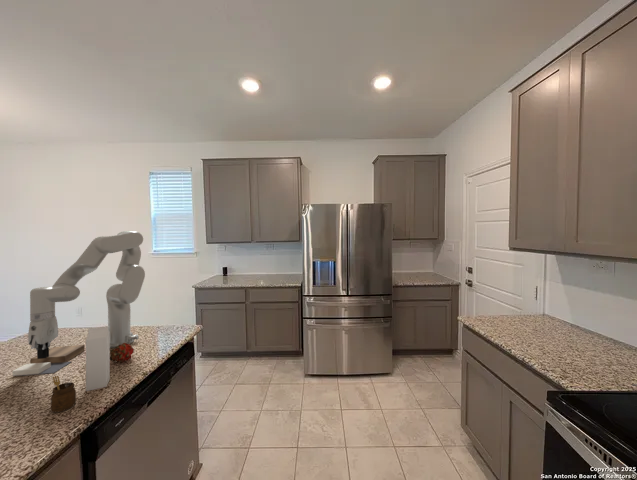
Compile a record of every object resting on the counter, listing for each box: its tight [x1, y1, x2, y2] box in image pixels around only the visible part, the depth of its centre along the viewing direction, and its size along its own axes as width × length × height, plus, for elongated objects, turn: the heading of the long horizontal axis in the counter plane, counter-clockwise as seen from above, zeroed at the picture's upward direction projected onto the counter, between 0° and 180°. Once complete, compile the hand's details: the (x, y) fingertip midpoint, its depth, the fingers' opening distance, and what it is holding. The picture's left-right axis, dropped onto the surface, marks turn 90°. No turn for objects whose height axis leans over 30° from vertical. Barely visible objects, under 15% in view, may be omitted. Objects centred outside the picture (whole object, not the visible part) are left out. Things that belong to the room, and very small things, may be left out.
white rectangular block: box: [11, 362, 51, 377], centre depth 110 cm, size 9×6×2 cm, turn 101°
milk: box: [85, 325, 111, 392], centre depth 100 cm, size 6×6×22 cm
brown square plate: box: [29, 344, 86, 364], centre depth 123 cm, size 13×13×3 cm
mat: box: [21, 361, 72, 377], centre depth 112 cm, size 11×10×1 cm
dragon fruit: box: [110, 343, 135, 364], centre depth 120 cm, size 8×8×12 cm
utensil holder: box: [50, 370, 77, 414], centre depth 86 cm, size 6×6×12 cm
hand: (43, 357), depth 115 cm, fingers closed
